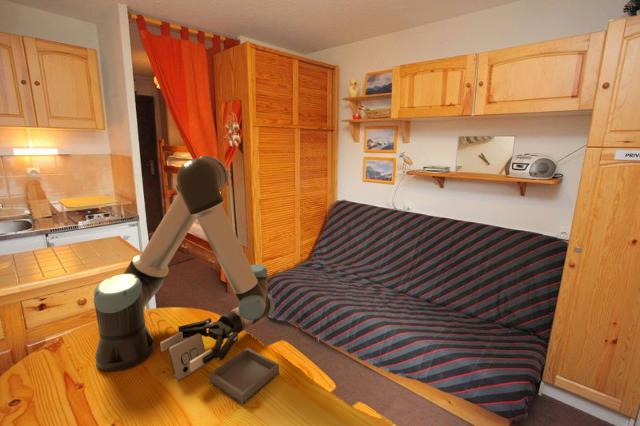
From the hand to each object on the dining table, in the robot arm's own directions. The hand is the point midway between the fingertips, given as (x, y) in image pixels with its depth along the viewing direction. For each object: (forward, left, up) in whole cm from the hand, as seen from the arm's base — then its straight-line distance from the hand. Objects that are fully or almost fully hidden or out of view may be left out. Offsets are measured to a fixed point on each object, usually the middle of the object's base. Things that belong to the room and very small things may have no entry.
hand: (175, 356), depth 89 cm
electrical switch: (0, +3, -6) cm, 7 cm away
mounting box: (+16, +10, -6) cm, 20 cm away
